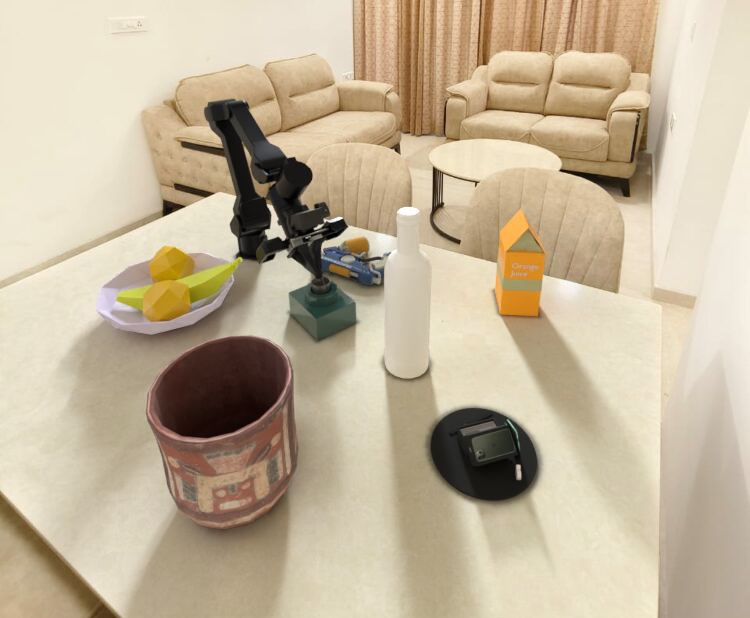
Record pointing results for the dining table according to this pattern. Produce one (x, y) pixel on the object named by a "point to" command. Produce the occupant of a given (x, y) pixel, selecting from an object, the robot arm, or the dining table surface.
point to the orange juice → (519, 268)
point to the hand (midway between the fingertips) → (320, 278)
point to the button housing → (322, 310)
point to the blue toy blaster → (354, 261)
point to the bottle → (407, 300)
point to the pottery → (226, 429)
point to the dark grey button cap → (320, 285)
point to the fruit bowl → (166, 291)
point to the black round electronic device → (483, 454)
